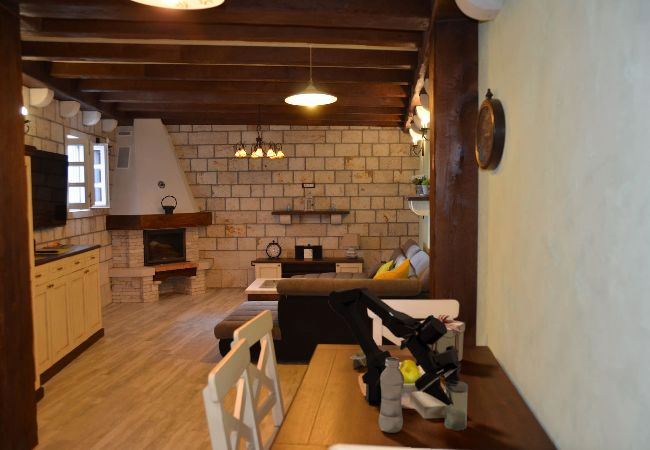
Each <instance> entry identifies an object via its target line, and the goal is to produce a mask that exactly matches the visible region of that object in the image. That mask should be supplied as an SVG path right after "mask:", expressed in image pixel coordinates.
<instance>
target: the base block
mask: <svg viewBox="0 0 650 450" xmlns="http://www.w3.org/2000/svg"><path fill="white" fill-rule="evenodd" d="M443 390H444V392H445V393H446V389H443ZM422 391H423V390H421V391H410V393H409V395H410V396H409V397H410V398H409V404H410V403H411V404H412V405H413V406H414V407H415V408H414V407H413V406H412V405H411V404H410V405H411V406H412V407H413V408H414V409H415V411H417V412H418V414H419V415H420V416H421V417H422V419H424V420H427V419H440V418H442V419H445V403H443V402H441V401H440V400H438V399H436V398H434V397H433V396H431V395H429V394H427V393H425V392H424V393H423V392H422Z"/></svg>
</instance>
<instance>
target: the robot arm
mask: <svg viewBox="0 0 650 450" xmlns="http://www.w3.org/2000/svg"><path fill="white" fill-rule="evenodd" d="M327 302H328V304H329V306H330V308H331V309H332V310H333V311H334V313H336V314H337V315H339V316H341V318H343V319H344V322H345V323H346V325H347V326H348V328H349V329H350V332H351V333H352V335H353V337H354V338H355V340H356V342H357V344H358V345H359V347H360V350H361V349H362V351H363V352H364V354H365V356H366V365H365V367H366V368H367V371H366V372H365V373H363V374H362V375H361V379H362V380H361V381H362V383H363V384H365V395H364V396H363V397H364V398H363V399H364V400H365V401H366V403H367V404H368V405H369V406H374V405H375V406H376V405H381V402H382V396H381V383H380V377H381V374H382V372H383V371H384V370H385V368H386V366H385V363H386V358H390V357H392V355H391V353H390V351H389V350H382V349H381V348H380V347H379V346H378V344H377V342H376V341H375V339H374V337H373V336H372V334H371V332H370V331H369V329H368V328H367V327H368V326H366V324H365V323H364V320H363V318H362V317H361V315H360V314H359V312H358V310H357V302H359V303H360V304H361V305H362V306H364V307H365V308H367V309H368V310H369V311H370V312H372V313H373V314H374V315H376V317H377V318H379V319H380V320H382V321H383V322H384V324H385V326H386V329H387V330H388V331H389V332H390V333H391V334H392V335H393V336H394V337H395V338H398V339H401V338H404V337H407V339H403V340H400V346H399V347H400V351H404V350H405V349H407V350H408V351H409V352H410V354H411V355H412V357H413V358H414V361H416V362H415V363H414V364H415V366H416V367H419V366H420V368H421V369H422V370H423V372H424V373H423V374H422V375H421V376H420V377H418V378H417V379H416V380H415V381H414V388H416V390H417V392H419V391H422V392H423V393H424V392H425V393H427V394H429V395H431V396H433V397H434V398H436V399H438V400H440V401H441V402H443V403H445V404H446V405H448V406H449V405H450V404H451V402H450V400H449V398H448V396H447V395H446V393H445V392H444V390H445V389H443V386H442V384H441V383H442V382H441V378H443V382H445V383H446V382H448V381H461V382H462V380H461V377H460V371H461V366H462V363H461V361H458V359H459V358H458V353H459V351H458V350H457V349H456V348H455V347H454V346H453V345H451V346H448V347H446V351H444V352H441V353H439V352H438V350H436V349H435V350H432V349H431V347H430V346H429V344H430V345H434V344H435V343H436V342H437V341H438V340H439V339H440V338H442V337H443V336H444V335H445V334H446V333H447V327H446V326H445V324H444V323H443V322H441V321H440V320H439V319H437V318H438V317H437V318H436V317H435V316H434V315H433V314H430V315H428V316H427V317H426V318H425V319H424V320H425V321H424V322H423V323H421V321H418V320H416V319H415V318H414V317H413V316H412V315H409V314H407V313H405V312H402V311H399V310H397V309H394V308H393V307H391V306H390V305H389V304H387V303H386V302H385V301H384V300H382V299H381V298H380V297H378V296H377V295H375V293H373V292H371V291H370V290H369V289H368V287H366V286H365V285H364V286H363V285H362V286H358V287H355V288H352V289H348V288H343V289H342V288H341V289H338V290H332V291H331V292H330V293H329V294H328V300H327ZM416 332H417V333H418V334H417V335H416ZM414 334H415V335H414ZM408 336H409V337H408Z"/></svg>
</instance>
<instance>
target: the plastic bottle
mask: <svg viewBox="0 0 650 450" xmlns="http://www.w3.org/2000/svg"><path fill="white" fill-rule="evenodd" d="M400 365H401V364H400V359H399V358H398V357H392V356H391V357H390V358H386V363H385V366H386V368H385V370H384V371H383V372H382V374H381V377H380V383H381V396H382V402H381V404H380V413H379V416H378V427H379V429H380V430H381V431H382V432H383V433H389V434H394V433H398V432H400V431H402V428H403V423H404V419H403V411H402V398H403V389H404V385H405V384H404V383H405V377H404V374H403V372H402V371H401V370H400Z"/></svg>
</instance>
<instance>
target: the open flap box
mask: <svg viewBox="0 0 650 450" xmlns="http://www.w3.org/2000/svg"><path fill="white" fill-rule="evenodd" d="M349 358H350V359H351V360H352V361H353V362H352V364H353V367H352V369H353V370H355V369H357V368H358V367H360V366H363V367H366V356H365V354H364V352H363V351H362V349H361V348H360V349H359V350H357V351H355V354H353V355H352V356H351V355H350V357H349Z"/></svg>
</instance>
